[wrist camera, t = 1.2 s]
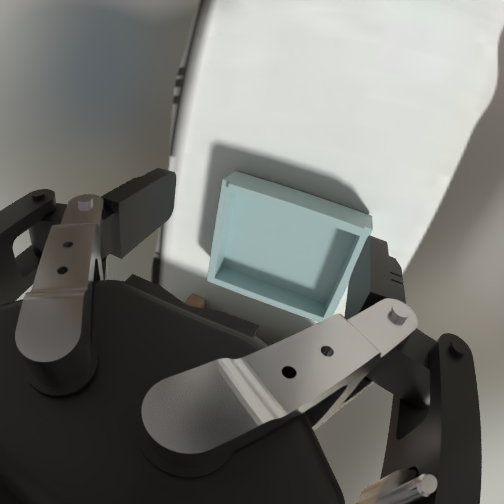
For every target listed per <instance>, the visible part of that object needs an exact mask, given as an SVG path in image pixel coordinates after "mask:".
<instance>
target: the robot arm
mask: <svg viewBox="0 0 504 504" xmlns="http://www.w3.org/2000/svg"><path fill="white" fill-rule="evenodd" d="M175 187H176V174H175V173H174V172H172V171H168V170H165V169H161V168H157V169H155V170H153V171H151V172H149V173H147V174H145V175H144V176H141V177H137V178H133V179H132V180H130V181H128V182H126V184H122V185H121V186H119V187H117V188H115V189H114V190H112V191H110V192H108V193H107V194H105V195H103V196H101V197H100V196H98V195H94V194H84V195H80V196H76V197H74V198H72V199H71V200H70V201H69V202H68V204H59V203H56V200H55V193H54V191H52V190H49V189H42V190H36V191H33V192H31V193H29V194H27V195H25V196H24V197H22V198H20V199H19V200H17V201H15V202H14V203H12V204H11V205H9V206H7V207H6V208H4V209H3V210H1V211H0V504H345V500H344V496H343V493H342V491H341V489H340V487H339V484H338V482H337V480H336V478H335V476H334V474H333V472H332V469H331V467H330V465H329V463H328V461H327V459H326V457H325V454H324V452H323V450H322V448H321V446H320V444H319V442H318V439H317V437H316V435H315V433H314V430H315V429H316V428H318V427H319V426H320V425H322V424H323V423H324V422H325V421H326V420H328V419H329V418H330V417H331V416H332V415H333V414H334V413H336V412H337V411H338V410H339V409H341V408H342V407H343V406H345V405H346V404H347V403H349V402H350V401H351V400H353V399H354V398H355V397H357V396H358V395H359V394H360V393H362V392H363V391H364V390H365V389H367V388H368V387H369V386H370V385H371V384H373V383H374V382H375V383H376V384H378V385H379V386H381V387H383V388H384V389H386V390H388V391H389V392H391V393H392V394H394V395H393V403H392V411H391V419H390V426H389V433H388V440H387V446H386V452H385V458H384V463H383V468H382V473H381V478H380V480H379V481H377V482H375V483H373V484H371V485H369V486H368V487H367V488H365V489H364V491H363V492H362V493H361V495H360V497H359V499H358V501H357V503H356V504H480V491H481V463H482V462H481V460H482V455H481V426H480V411H479V400H478V391H477V382H476V375H475V368H474V361H473V356H472V352H471V350H470V348H469V347H468V345H467V344H466V343H465V342H464V341H463V340H462V339H461V338H459V337H458V336H456V335H454V334H450V333H446V334H443V335H441V336H440V338H439V339H438V340H437V341H435V340H434V339H432V338H430V337H429V336H427V335H425V334H424V333H422V332H421V331H420V330H418V329H417V326H418V320H417V317H416V315H415V313H414V312H413V311H412V309H411V308H410V307H409V306H407V305H406V301H405V292H404V285H403V278H402V270H401V267H400V265H399V263H398V262H397V260H396V259H395V258H393V257H390V256H389V254H388V246H387V242H386V241H383V240H381V239H378V238H375V237H372V236H370V235H369V236H368V237H367V239H366V241H365V243H364V246H363V248H362V250H361V253H360V255H359V257H358V259H357V262H356V264H355V266H354V268H353V271H352V273H351V276H350V280H349V285H348V294H347V302H346V310H345V317H343V316H342V315H341V314H336V315H333V316H331V317H329V318H327V319H325V320H323V321H321V322H319V323H317V324H315V325H313V326H311V327H309V328H307V329H305V330H303V331H301V332H298V333H296V334H294V335H292V336H290V337H288V338H285V339H283V340H281V341H279V342H277V343H274V344H272V345H270V346H268V345H267V344H266V343H265V342H263V341H262V340H261V339H259V338H258V337H256V333H257V329H258V325H256V324H253V323H250V322H248V321H245V320H243V319H240V318H237V317H235V316H232V315H230V314H227V313H224V312H219V311H214V310H208V309H203V308H198V307H193V306H189V305H186V304H185V303H183V302H182V301H180V300H179V299H177V298H176V297H175V296H173V295H172V294H170V293H169V292H168V291H166V290H165V289H163V288H162V287H161V286H159V285H157V284H154V283H152V282H150V281H147V280H145V279H143V278H141V277H138V276H136V275H134V274H132V275H131V276H130V277H129V278H128V279H127V280H126V281H125V282H124V281H117V280H107V273H108V258H107V256H108V255H109V254H112V255H114V256H116V257H119V258H121V259H122V258H123V257H124V256H125V255H126V254H128V253H129V252H130V251H131V250H132V249H133V248H135V247H136V246H137V245H138V244H139V243H140V242H142V241H143V240H144V239H145V238H147V237H148V236H149V235H150V234H151V233H152V232H154V231H155V230H156V229H157V228H159V227H160V226H161V225H162V224H164V223H165V222H166V221H167V220H168V219H169V218H170V217H171V215H172V212H173V209H174V199H175ZM27 229H29V234H30V238H31V243H32V245H31V246H30V247H29V248H27V249H26V250H25V251H23V252H22V253H21V254H20V255H18V256H17V257H16V258H15V257H14V253H13V249H12V247H13V242H14V240H15V239H16V238H17V236H19V235H20V234H22V233H23V232H24V231H26V230H27ZM31 285H33V287H32V290H31V292H28V293H26V294H25V296H24V299H22V300H18V301H16V300H17V299H18V298H19V297H20V296H21V295H22V294H23V293H24V292H25V291H26V290H27V289H28V288H29V287H30V286H31Z"/></svg>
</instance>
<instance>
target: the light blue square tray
mask: <svg viewBox="0 0 504 504" xmlns="http://www.w3.org/2000/svg"><path fill="white" fill-rule="evenodd" d="M372 230H373V227H372V216H370V215H367V214H365V213H362V212H359V211H357V210H354V209H351V208H348V207H345V206H343V205H340V204H337V203H334V202H331V201H328V200H325V199H323V198H320V197H317V196H314V195H311V194H308V193H305V192H302V191H299V190H296V189H293V188H289V187H286V186H283V185H280V184H277V183H274V182H270V181H267V180H264V179H261V178H257V177H254V176H251V175H247V174H244V173H241V172H237V171H234V172H232V173H231V174H229V175H228V176H227V177H225V178H224V179H223V181H222V187H221V193H220V199H219V205H218V211H217V217H216V223H215V230H214V236H213V243H212V249H211V256H210V263H209V270H208V277H207V281H208V282H211V283H213V284H216V285H219V286H221V287H224V288H226V289H229V290H232V291H234V292H237V293H240V294H242V295H245V296H248V297H250V298H253V299H256V300H258V301H261V302H264V303H266V304H269V305H272V306H275V307H277V308H280V309H283V310H286V311H289V312H291V313H294V314H297V315H300V316H303V317H306V318H308V319H311V320H314V321H317V322H321V321H323V320H325V319H327V318H329V317H331V316H333V314H334V312H335V310H336V308H337V306H338V304H339V302H340V300H341V298H342V296H343V294H344V292H345V290H346V288H347V285H348V283H349V280H350V276H351V273H352V271H353V268H354V266H355V264H356V262H357V259H358V257H359V255H360V253H361V250H362V248H363V246H364V243H365V241H366V239H367V237H368V236H369V235H370V234H371V232H372Z"/></svg>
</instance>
